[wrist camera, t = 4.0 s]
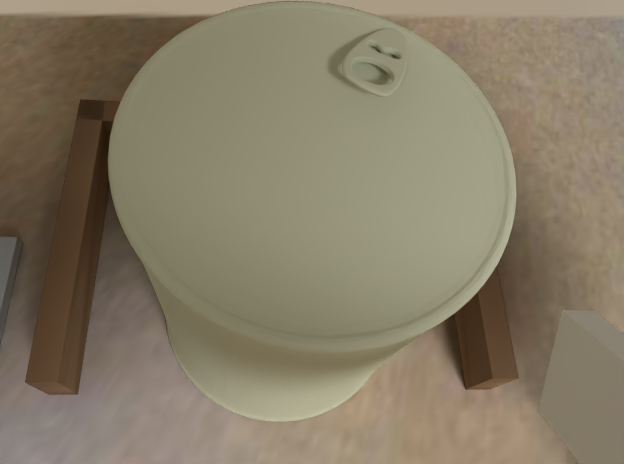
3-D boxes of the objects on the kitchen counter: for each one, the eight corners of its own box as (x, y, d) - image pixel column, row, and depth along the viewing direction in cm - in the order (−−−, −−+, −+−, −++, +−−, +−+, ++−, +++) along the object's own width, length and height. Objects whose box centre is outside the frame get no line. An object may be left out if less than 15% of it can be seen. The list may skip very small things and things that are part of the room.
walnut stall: (448, 152, 27) (468, 122, 24) (489, 389, 22) (518, 378, 19) (94, 134, 24) (80, 99, 22) (48, 394, 19) (25, 382, 17)
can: (420, 267, 24) (575, 86, 13) (330, 468, 20) (446, 446, 9) (241, 173, 25) (246, -69, 14) (118, 348, 20) (-8, 194, 10)
